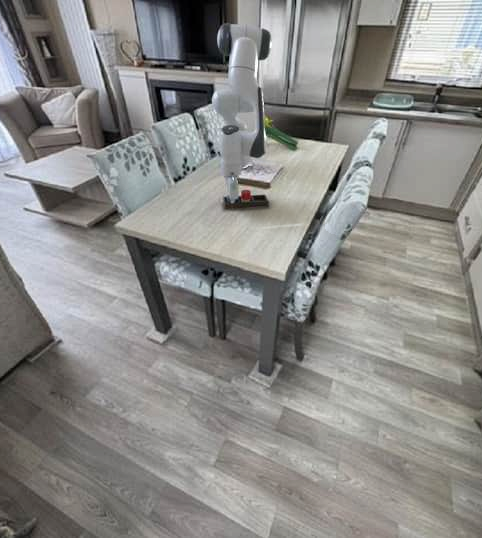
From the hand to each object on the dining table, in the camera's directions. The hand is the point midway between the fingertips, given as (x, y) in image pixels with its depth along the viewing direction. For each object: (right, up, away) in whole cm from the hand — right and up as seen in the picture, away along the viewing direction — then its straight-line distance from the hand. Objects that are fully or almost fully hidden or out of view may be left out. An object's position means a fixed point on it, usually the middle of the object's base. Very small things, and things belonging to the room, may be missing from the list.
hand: (231, 199), depth 133 cm
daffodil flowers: (+27, +55, +74) cm, 96 cm away
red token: (+6, +1, 0) cm, 6 cm away
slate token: (0, -1, +1) cm, 2 cm away
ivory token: (+6, -1, +2) cm, 7 cm away
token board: (+6, -2, +3) cm, 7 cm away
